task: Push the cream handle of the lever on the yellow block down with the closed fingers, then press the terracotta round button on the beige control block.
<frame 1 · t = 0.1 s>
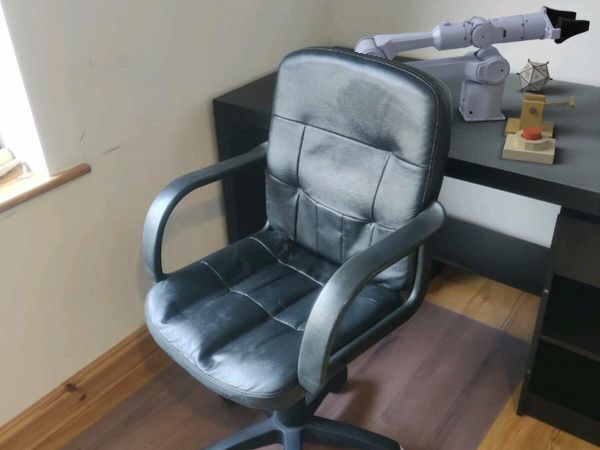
hand: (582, 21, 138), 22 cm above the table, tool horizontal, fingers open, 7 cm apart
button: (531, 134, 130), point 4 cm above the table, slide at 0.1 cm
control block: (528, 153, 132), on the table
game die: (531, 91, 162), on the table
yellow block: (528, 131, 141), on the table
lever: (550, 104, 137), point 7 cm above the table, hinge at 12.0°
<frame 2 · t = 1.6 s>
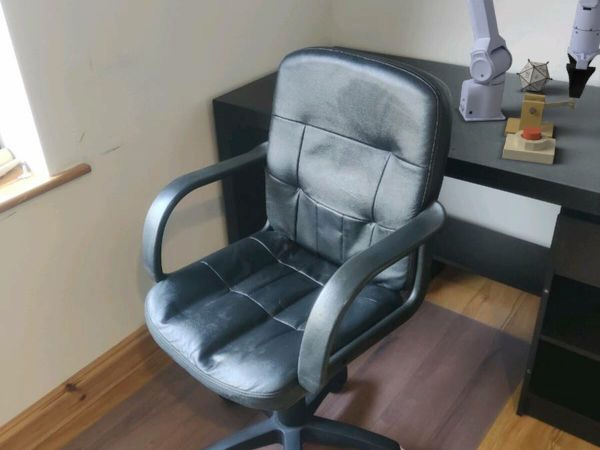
hand: (574, 91, 133), 10 cm above the table, tool pointing down, fingers open, 7 cm apart
nothing on the table moved.
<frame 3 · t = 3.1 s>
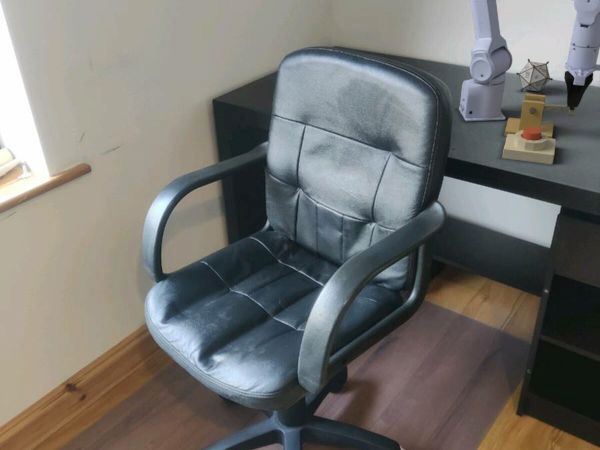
hand: (572, 105, 135), 7 cm above the table, tool pointing down, fingers closed, pressing on lever
lever: (550, 106, 137), point 6 cm above the table, hinge at 2.4°, touching gripper
everything else where it was.
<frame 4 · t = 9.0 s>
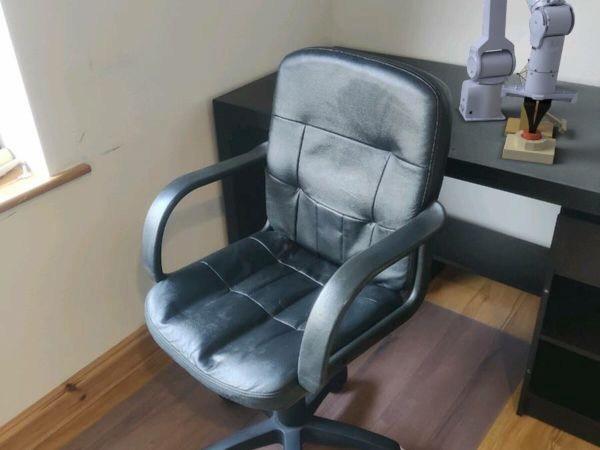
hand: (532, 131, 130), 5 cm above the table, tool pointing down, fingers closed, pressing on button
button: (531, 135, 130), point 4 cm above the table, slide at -0.2 cm, touching gripper
lever: (546, 114, 138), point 4 cm above the table, hinge at -30.3°
everything else where it was.
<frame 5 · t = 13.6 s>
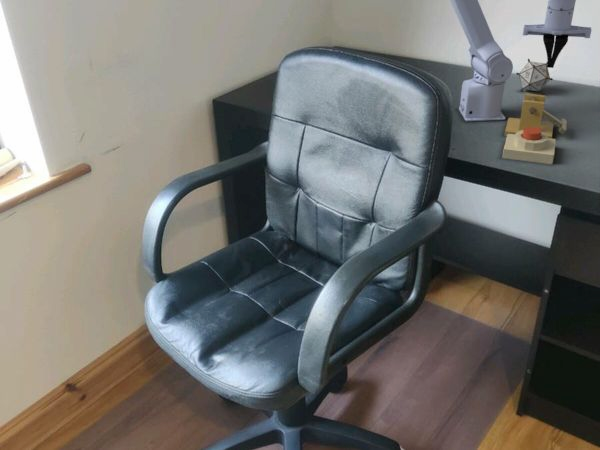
hand: (550, 66, 147), 10 cm above the table, tool pointing down, fingers closed
button: (531, 134, 130), point 4 cm above the table, slide at 0.1 cm
everything else where it was.
at the end: lever at -30° (first picture: +12°); button pushed in 1.2 cm at the most during the clip, back to where it started at the end; button slide at 0.1 cm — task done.
